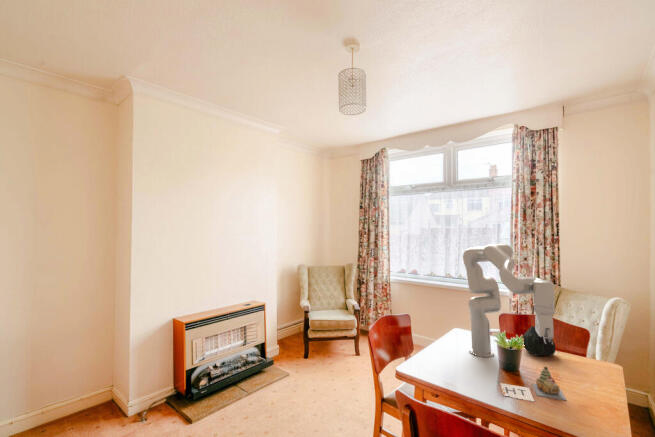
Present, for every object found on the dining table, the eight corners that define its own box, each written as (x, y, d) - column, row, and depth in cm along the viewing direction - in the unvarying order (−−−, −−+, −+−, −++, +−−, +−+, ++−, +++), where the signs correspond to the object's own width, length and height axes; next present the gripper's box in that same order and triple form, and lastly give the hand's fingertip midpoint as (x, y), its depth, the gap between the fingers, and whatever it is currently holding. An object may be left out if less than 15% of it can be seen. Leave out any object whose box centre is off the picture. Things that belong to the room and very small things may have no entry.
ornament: (562, 395, 125) (561, 371, 125) (550, 396, 124) (548, 372, 124) (546, 385, 133) (545, 362, 133) (534, 386, 132) (533, 364, 132)
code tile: (500, 383, 136) (500, 382, 136) (528, 388, 131) (528, 387, 131) (503, 396, 126) (503, 395, 126) (534, 401, 121) (534, 401, 121)
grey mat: (532, 384, 135) (532, 383, 135) (559, 388, 130) (559, 387, 130) (537, 395, 125) (537, 394, 125) (566, 400, 121) (566, 399, 121)
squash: (559, 352, 154) (552, 324, 164) (525, 349, 161) (520, 322, 170) (555, 362, 163) (549, 335, 173) (523, 359, 170) (519, 333, 179)
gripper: (529, 303, 139) (531, 340, 138) (538, 313, 123) (539, 355, 123) (549, 304, 135) (550, 342, 135) (560, 315, 120) (562, 358, 119)
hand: (545, 348), depth 129 cm, fingers open, 9 cm apart
